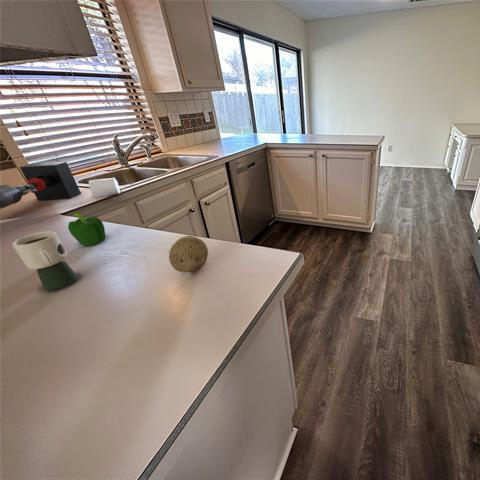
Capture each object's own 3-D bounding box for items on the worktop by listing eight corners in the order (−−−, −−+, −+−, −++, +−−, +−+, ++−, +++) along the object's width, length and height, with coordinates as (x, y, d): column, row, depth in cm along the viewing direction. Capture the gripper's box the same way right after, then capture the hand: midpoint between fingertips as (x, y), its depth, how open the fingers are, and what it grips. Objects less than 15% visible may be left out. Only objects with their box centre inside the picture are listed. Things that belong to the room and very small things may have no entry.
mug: (119, 195, 129) (112, 179, 126) (94, 199, 125) (86, 182, 122) (122, 189, 139) (116, 174, 135) (99, 192, 135) (92, 177, 131)
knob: (46, 190, 119) (39, 177, 116) (32, 191, 118) (25, 178, 115) (55, 186, 124) (49, 174, 122) (42, 187, 123) (35, 175, 121)
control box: (71, 198, 127) (54, 165, 120) (38, 201, 125) (19, 167, 118) (81, 193, 134) (66, 161, 127) (50, 195, 132) (33, 163, 125)
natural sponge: (209, 280, 65) (199, 244, 60) (170, 285, 63) (157, 249, 59) (214, 261, 73) (206, 228, 68) (180, 265, 71) (169, 232, 67)
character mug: (86, 285, 64) (60, 238, 58) (47, 301, 59) (14, 251, 53) (75, 270, 70) (50, 226, 64) (39, 283, 66) (9, 237, 60)
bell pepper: (113, 241, 85) (100, 212, 80) (81, 251, 80) (65, 221, 75) (105, 234, 90) (93, 207, 85) (75, 243, 84) (59, 215, 80)
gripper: (14, 186, 100) (47, 175, 116) (-27, 189, 98) (12, 177, 113) (25, 204, 104) (55, 192, 119) (-14, 208, 102) (21, 194, 117)
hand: (34, 185), depth 116 cm, fingers closed
